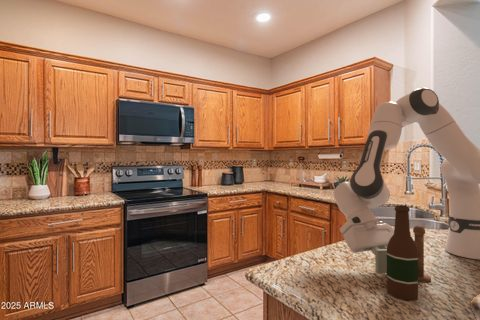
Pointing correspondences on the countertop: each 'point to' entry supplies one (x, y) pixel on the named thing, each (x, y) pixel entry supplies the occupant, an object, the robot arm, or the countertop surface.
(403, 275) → the beer bottle
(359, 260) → the countertop surface
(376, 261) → the flap
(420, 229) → the post
